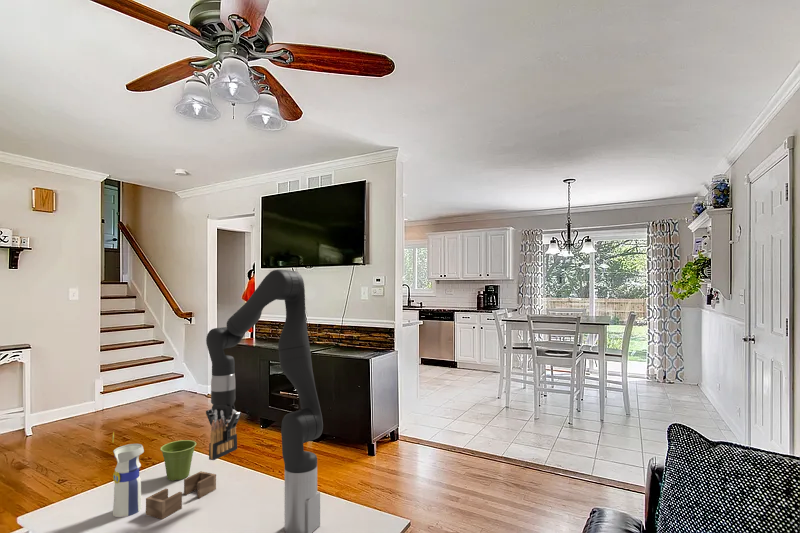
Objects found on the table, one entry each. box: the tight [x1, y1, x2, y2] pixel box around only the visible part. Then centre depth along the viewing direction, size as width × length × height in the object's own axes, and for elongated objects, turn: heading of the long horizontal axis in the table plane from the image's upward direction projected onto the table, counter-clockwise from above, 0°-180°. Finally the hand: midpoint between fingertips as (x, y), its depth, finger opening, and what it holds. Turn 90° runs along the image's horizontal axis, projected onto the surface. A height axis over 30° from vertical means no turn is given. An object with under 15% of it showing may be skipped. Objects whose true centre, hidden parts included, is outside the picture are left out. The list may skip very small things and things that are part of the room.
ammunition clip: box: [208, 419, 238, 461], centre depth 145 cm, size 11×2×12 cm, turn 158°
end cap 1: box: [145, 488, 183, 520], centre depth 137 cm, size 7×7×5 cm
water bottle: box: [111, 431, 145, 518], centre depth 138 cm, size 8×9×25 cm
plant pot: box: [160, 439, 197, 482], centre depth 162 cm, size 12×12×11 cm
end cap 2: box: [183, 470, 217, 499], centre depth 150 cm, size 7×7×5 cm
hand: (223, 441), depth 145 cm, fingers closed on ammunition clip, 2 cm apart
